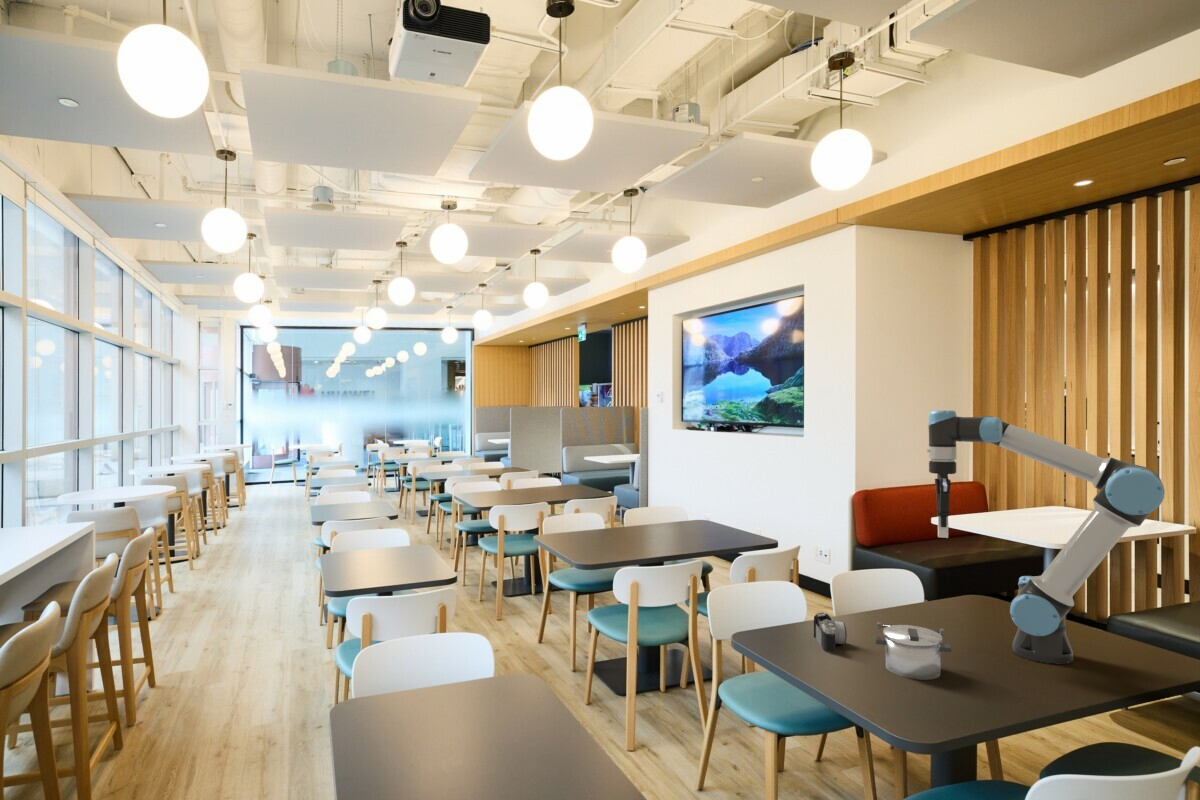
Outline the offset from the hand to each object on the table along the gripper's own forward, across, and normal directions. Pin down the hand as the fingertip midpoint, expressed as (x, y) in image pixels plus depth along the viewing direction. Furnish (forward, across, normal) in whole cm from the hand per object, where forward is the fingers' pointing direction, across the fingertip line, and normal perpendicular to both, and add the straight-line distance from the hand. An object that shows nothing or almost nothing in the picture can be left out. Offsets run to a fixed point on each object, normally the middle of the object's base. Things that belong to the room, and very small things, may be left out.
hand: (943, 537), depth 206 cm
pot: (+34, +22, -10) cm, 42 cm away
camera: (+35, +9, -33) cm, 49 cm away
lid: (+25, +14, -10) cm, 31 cm away
